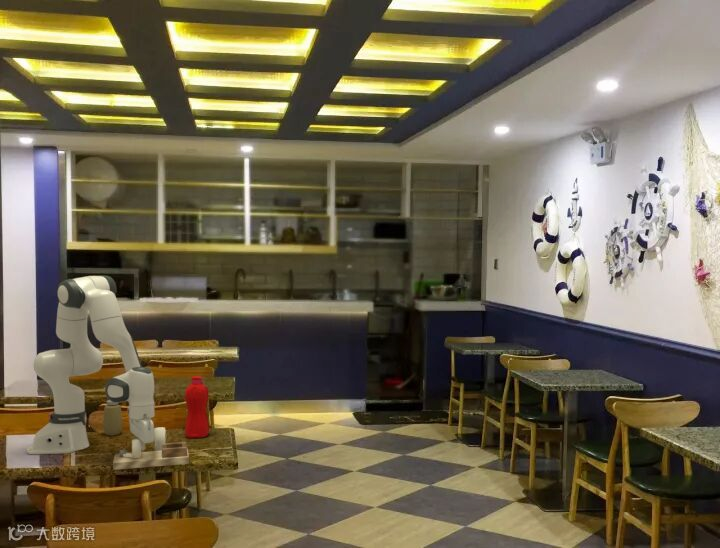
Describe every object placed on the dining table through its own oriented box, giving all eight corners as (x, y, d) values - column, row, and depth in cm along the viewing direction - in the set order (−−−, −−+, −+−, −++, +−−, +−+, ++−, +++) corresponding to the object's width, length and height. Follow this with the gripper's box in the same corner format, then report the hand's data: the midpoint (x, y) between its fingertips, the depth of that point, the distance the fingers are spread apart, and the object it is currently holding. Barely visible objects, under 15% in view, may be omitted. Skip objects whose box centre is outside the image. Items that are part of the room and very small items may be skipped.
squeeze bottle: (98, 435, 299) (98, 393, 299) (111, 431, 307) (111, 389, 306) (114, 437, 296) (113, 394, 296) (126, 432, 304) (126, 390, 304)
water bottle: (209, 438, 293) (209, 378, 293) (183, 438, 293) (182, 378, 293) (214, 433, 302) (214, 374, 302) (189, 433, 303) (188, 374, 302)
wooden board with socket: (113, 469, 250) (113, 454, 250) (115, 460, 261) (114, 446, 261) (189, 463, 257) (189, 448, 257) (187, 455, 268) (187, 440, 268)
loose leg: (154, 453, 271) (154, 430, 271) (154, 450, 275) (154, 427, 275) (165, 452, 272) (165, 429, 272) (165, 450, 276) (165, 426, 276)
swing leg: (117, 456, 257) (117, 439, 257) (123, 454, 260) (123, 437, 260) (137, 458, 254) (137, 441, 254) (143, 456, 257) (143, 438, 257)
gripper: (158, 416, 252) (159, 455, 252) (143, 406, 269) (143, 442, 269) (140, 418, 248) (141, 458, 249) (126, 408, 266) (126, 444, 266)
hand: (142, 449), depth 259 cm, fingers closed
